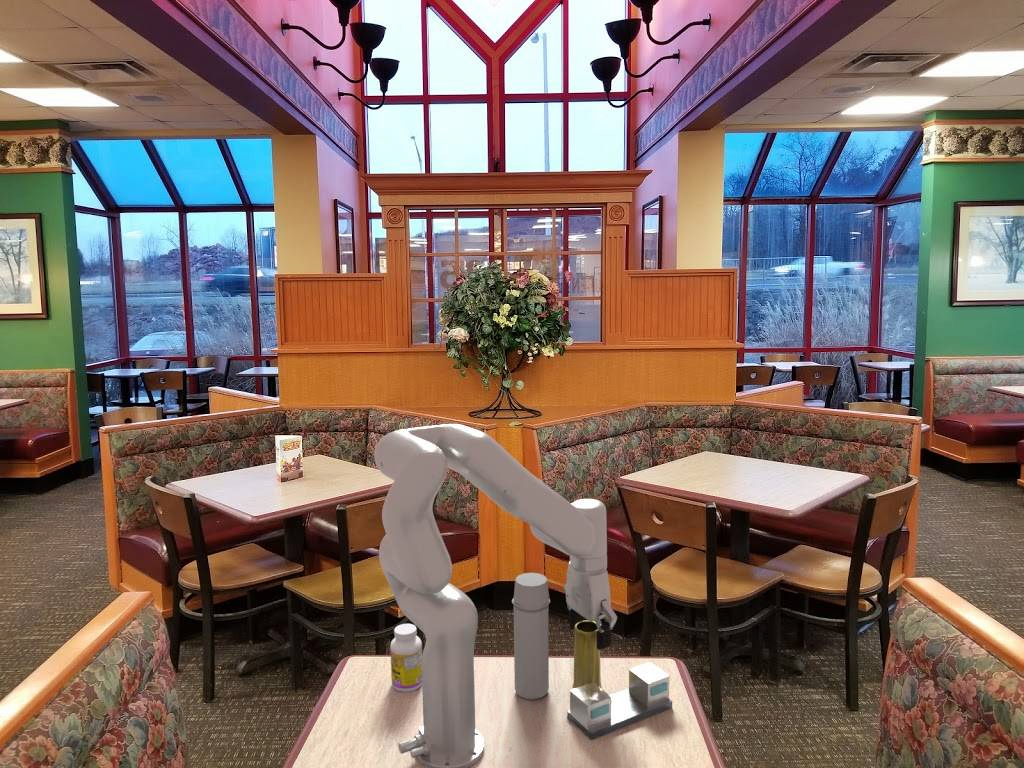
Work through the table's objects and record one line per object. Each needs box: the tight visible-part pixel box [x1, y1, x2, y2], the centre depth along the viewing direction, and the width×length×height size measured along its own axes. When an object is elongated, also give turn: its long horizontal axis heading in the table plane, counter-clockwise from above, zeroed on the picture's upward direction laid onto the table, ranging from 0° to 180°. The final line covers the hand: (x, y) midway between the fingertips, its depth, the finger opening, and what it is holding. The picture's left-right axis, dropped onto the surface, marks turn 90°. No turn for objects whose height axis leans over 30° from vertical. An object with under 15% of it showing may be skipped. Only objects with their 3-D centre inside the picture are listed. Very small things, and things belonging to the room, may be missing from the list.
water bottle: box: [511, 572, 551, 700], centre depth 152 cm, size 9×8×25 cm
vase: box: [572, 619, 603, 690], centre depth 153 cm, size 6×6×14 cm
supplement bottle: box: [389, 623, 423, 693], centre depth 156 cm, size 7×7×13 cm
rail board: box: [566, 661, 673, 741], centre depth 145 cm, size 20×8×6 cm, turn 119°
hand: (589, 636), depth 153 cm, fingers open, 9 cm apart
